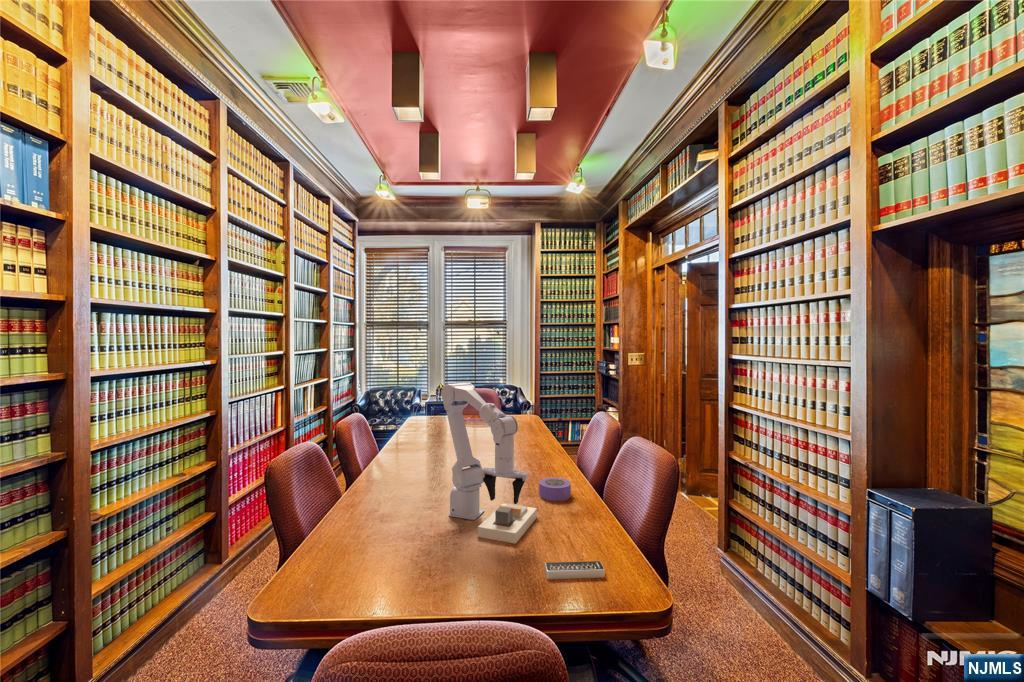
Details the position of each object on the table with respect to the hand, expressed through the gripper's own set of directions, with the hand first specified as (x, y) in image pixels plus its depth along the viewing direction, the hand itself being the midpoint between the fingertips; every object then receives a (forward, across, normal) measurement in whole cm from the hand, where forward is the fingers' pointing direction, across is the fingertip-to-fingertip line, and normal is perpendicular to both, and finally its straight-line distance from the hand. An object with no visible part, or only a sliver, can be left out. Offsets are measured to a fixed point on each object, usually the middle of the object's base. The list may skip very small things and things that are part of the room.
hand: (504, 501), depth 137 cm
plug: (+9, 0, 0) cm, 9 cm away
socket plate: (+9, 0, +4) cm, 10 cm away
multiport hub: (+10, +25, -16) cm, 31 cm away
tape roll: (+10, +6, +36) cm, 38 cm away
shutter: (+6, 0, +8) cm, 10 cm away
